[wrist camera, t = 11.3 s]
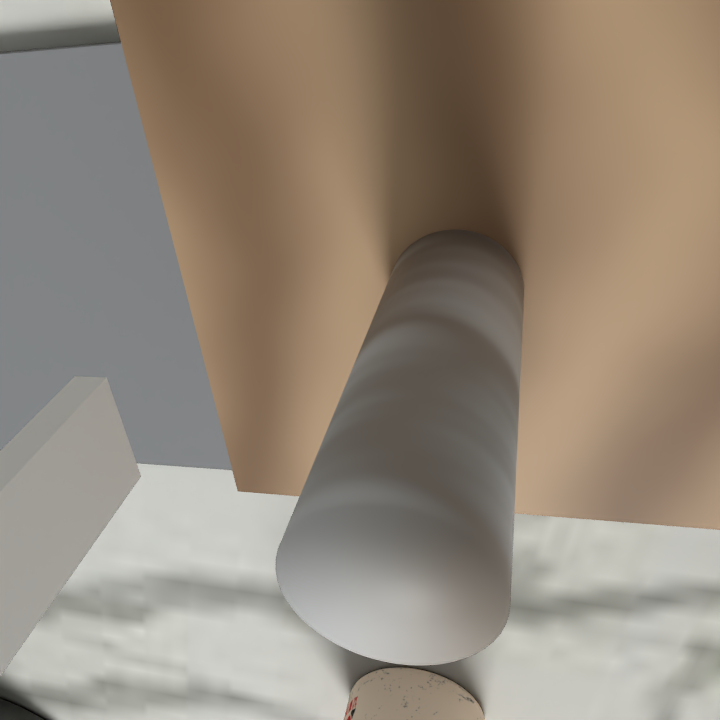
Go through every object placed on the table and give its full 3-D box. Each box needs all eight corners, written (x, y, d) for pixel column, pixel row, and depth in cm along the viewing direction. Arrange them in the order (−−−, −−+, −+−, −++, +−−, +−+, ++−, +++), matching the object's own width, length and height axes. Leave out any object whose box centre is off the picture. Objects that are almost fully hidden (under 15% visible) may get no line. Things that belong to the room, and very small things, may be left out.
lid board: (249, 469, 26) (87, 778, 17) (131, -18, 17) (-330, 64, 8) (719, 502, 22) (847, 927, 13) (859, -99, 14) (1521, -115, 4)
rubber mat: (-31, 443, 40) (-38, 450, 39) (-221, 72, 29) (-233, 74, 29) (301, 466, 35) (298, 474, 34) (218, 33, 24) (212, 35, 24)
